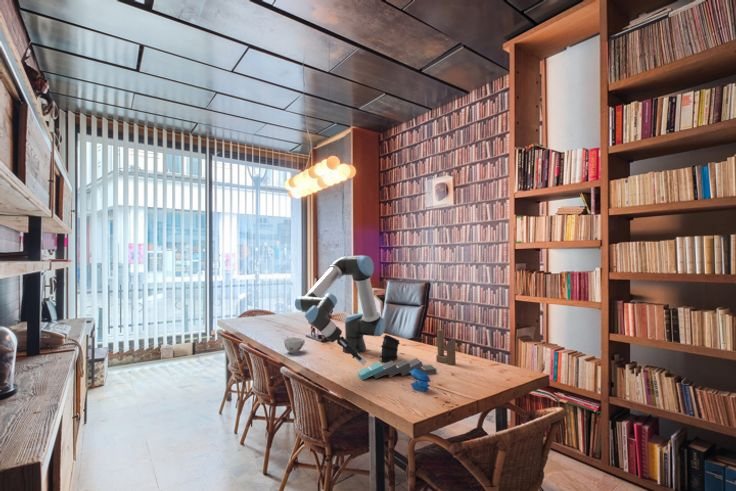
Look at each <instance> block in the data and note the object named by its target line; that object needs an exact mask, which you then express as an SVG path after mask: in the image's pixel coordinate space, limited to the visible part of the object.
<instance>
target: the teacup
mask: <svg viewBox="0 0 736 491" xmlns="http://www.w3.org/2000/svg"><path fill="white" fill-rule="evenodd" d="M305 341H306V340H305V339H304V338H302V337H287V338H285V339H284V340H283V343H284V347H285V350H287V352H288V353H289V354H297V353H299V352H300V350H301V349H302V348H303V346H304V345H305V343H306V342H305Z"/></svg>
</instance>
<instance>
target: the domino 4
mask: <svg viewBox="0 0 736 491" xmlns="http://www.w3.org/2000/svg"><path fill="white" fill-rule="evenodd" d="M418 370H420V371H422V372H424V373H425V374H427V375H435V374H437V368H436V367H434V366H433V365H432V364H425V365H423V366H422V367H420V368H418Z"/></svg>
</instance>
